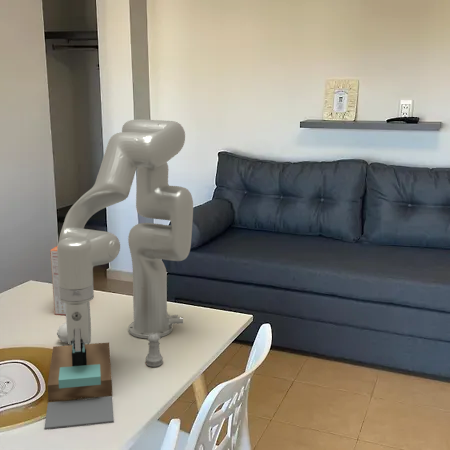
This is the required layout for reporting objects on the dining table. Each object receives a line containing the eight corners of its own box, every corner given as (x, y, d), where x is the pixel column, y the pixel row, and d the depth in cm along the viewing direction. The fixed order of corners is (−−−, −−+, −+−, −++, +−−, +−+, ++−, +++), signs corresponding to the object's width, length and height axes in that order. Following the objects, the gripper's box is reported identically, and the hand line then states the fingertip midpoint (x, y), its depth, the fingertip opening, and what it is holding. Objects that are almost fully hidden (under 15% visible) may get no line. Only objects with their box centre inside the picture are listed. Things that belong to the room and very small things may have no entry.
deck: (109, 356, 153) (109, 342, 152) (112, 395, 134) (111, 379, 133) (53, 361, 150) (53, 346, 149) (48, 401, 131) (47, 385, 130)
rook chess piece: (155, 369, 147) (155, 339, 145) (141, 364, 149) (141, 335, 147) (166, 362, 151) (166, 333, 149) (152, 358, 153) (152, 329, 151)
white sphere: (59, 338, 164) (58, 319, 162) (80, 337, 164) (79, 318, 163) (54, 350, 156) (53, 330, 155) (76, 349, 157) (75, 330, 156)
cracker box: (70, 298, 193) (67, 237, 188) (88, 299, 192) (85, 238, 187) (52, 314, 180) (49, 249, 175) (71, 316, 179) (68, 250, 174)
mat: (112, 398, 133) (112, 396, 133) (113, 422, 124) (113, 420, 124) (48, 404, 130) (47, 402, 130) (44, 429, 121) (44, 427, 121)
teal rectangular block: (100, 371, 137) (100, 364, 136) (100, 384, 131) (100, 376, 131) (60, 375, 135) (59, 367, 134) (59, 388, 129) (58, 380, 129)
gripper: (93, 302, 126) (96, 380, 131) (93, 280, 141) (96, 351, 145) (57, 304, 125) (61, 383, 129) (61, 282, 139) (64, 353, 143)
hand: (79, 366), depth 137 cm, fingers closed
